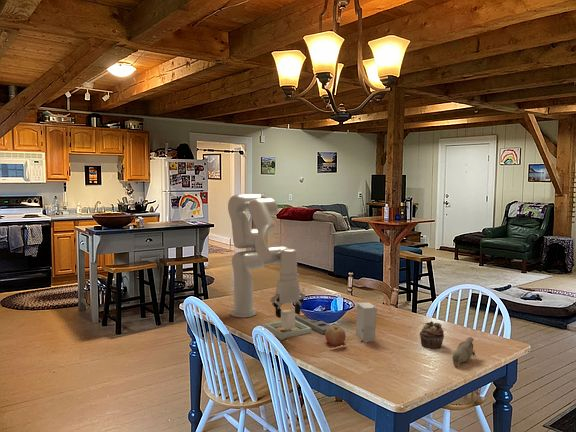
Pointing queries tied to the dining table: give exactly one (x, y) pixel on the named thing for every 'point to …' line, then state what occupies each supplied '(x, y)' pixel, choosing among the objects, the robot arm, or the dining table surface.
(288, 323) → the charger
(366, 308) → the skincare box
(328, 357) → the dining table surface
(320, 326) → the power strip
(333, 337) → the fruit
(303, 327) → the green square frame
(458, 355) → the decorative bird
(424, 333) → the cupcake
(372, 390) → the dining table surface
